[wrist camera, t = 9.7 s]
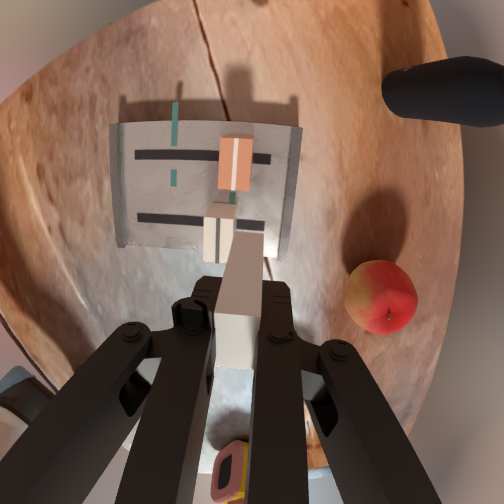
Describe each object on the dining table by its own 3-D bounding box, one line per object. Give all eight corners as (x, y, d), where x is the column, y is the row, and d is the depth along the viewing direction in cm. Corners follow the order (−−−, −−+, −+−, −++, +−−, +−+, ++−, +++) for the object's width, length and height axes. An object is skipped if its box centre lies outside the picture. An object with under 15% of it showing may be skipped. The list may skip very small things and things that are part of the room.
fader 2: (211, 241, 35) (203, 262, 30) (211, 202, 33) (203, 217, 28) (235, 243, 35) (231, 264, 30) (237, 204, 33) (233, 220, 28)
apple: (386, 234, 36) (417, 270, 27) (403, 283, 40) (430, 323, 31) (326, 266, 39) (343, 311, 30) (350, 311, 42) (367, 357, 33)
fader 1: (224, 178, 31) (217, 189, 27) (226, 134, 29) (219, 137, 25) (251, 180, 31) (248, 191, 27) (254, 136, 29) (252, 139, 25)
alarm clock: (239, 432, 61) (234, 499, 44) (277, 440, 63) (277, 504, 46) (213, 453, 69) (206, 507, 51) (246, 460, 71) (243, 513, 53)
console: (129, 250, 39) (119, 261, 36) (122, 106, 30) (109, 106, 27) (282, 264, 39) (283, 277, 36) (300, 109, 30) (304, 108, 27)
